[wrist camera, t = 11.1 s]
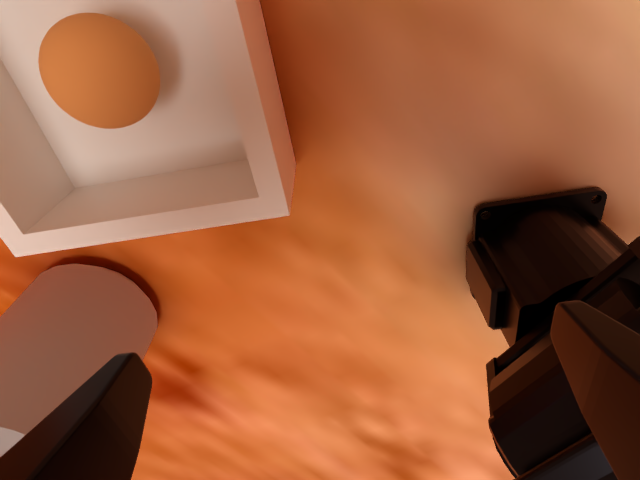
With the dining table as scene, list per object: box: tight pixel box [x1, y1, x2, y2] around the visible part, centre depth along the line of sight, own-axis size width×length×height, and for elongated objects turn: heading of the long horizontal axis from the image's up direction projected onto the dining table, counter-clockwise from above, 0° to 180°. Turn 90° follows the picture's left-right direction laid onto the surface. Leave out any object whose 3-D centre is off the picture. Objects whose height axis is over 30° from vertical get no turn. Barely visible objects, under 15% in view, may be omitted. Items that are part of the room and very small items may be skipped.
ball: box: [38, 13, 160, 129], centre depth 15 cm, size 4×4×4 cm
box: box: [0, 0, 296, 257], centre depth 15 cm, size 12×12×5 cm
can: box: [0, 263, 158, 457], centre depth 20 cm, size 8×8×12 cm
